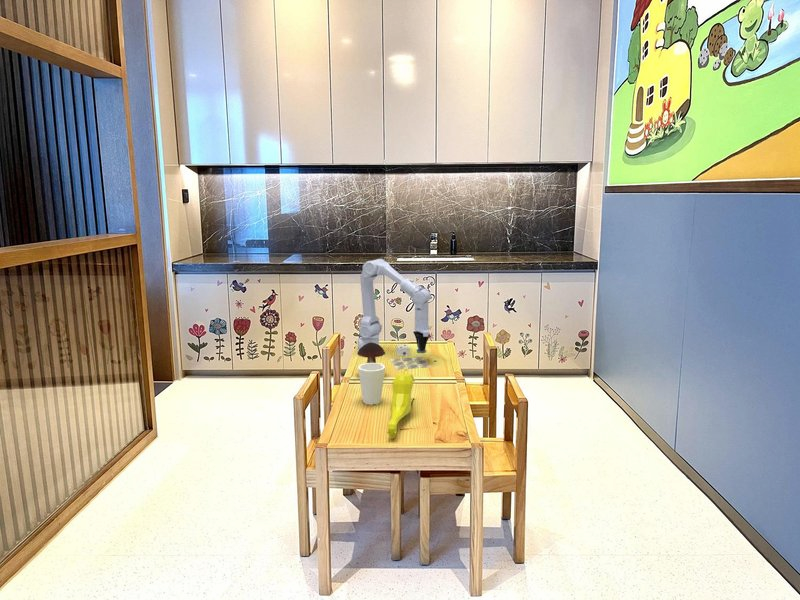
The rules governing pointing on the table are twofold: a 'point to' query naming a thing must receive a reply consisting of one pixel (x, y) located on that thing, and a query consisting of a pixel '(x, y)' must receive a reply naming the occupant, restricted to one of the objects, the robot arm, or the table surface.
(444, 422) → the table surface
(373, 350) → the decorative mushroom
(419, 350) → the pawn
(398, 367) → the board
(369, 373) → the foam cup
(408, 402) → the banana
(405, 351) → the die
